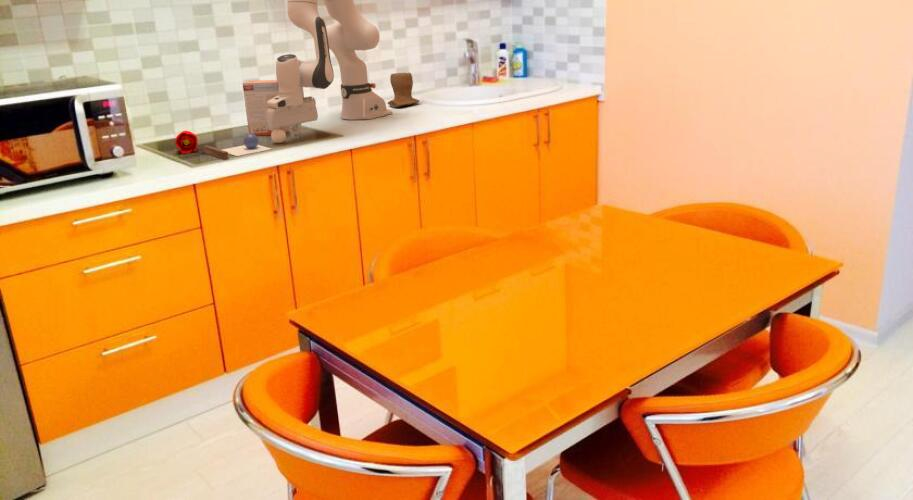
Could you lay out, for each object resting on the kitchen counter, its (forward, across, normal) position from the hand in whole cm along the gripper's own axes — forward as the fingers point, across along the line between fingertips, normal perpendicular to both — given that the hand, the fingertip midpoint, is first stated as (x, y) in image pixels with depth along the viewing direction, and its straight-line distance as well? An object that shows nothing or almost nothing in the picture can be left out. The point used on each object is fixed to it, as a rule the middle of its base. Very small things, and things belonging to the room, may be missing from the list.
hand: (294, 135), depth 310 cm
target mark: (+2, +21, 0) cm, 21 cm away
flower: (+2, +36, -16) cm, 39 cm away
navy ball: (-1, +18, 0) cm, 18 cm away
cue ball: (-1, +7, 0) cm, 7 cm away
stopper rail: (+2, +32, 0) cm, 33 cm away
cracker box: (+2, +1, -19) cm, 19 cm away
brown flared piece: (+2, -71, -25) cm, 75 cm away
